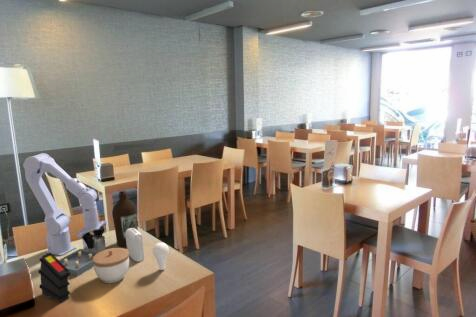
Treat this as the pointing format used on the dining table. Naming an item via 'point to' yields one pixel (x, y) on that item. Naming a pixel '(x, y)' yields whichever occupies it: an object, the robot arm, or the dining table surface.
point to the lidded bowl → (111, 264)
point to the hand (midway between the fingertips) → (94, 246)
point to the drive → (96, 243)
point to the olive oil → (124, 217)
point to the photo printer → (134, 244)
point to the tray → (78, 261)
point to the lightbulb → (160, 254)
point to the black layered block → (54, 278)
